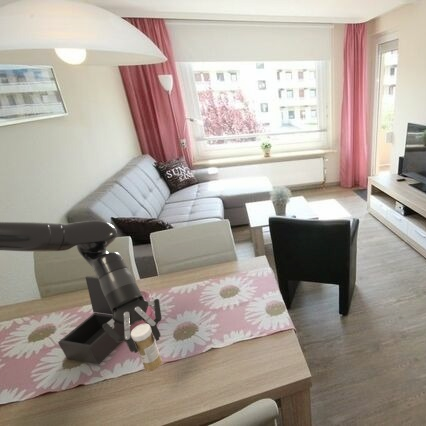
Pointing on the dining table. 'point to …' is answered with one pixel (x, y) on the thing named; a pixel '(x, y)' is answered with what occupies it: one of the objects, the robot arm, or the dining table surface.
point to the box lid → (97, 296)
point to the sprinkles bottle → (146, 347)
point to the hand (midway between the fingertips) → (147, 345)
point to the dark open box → (91, 340)
